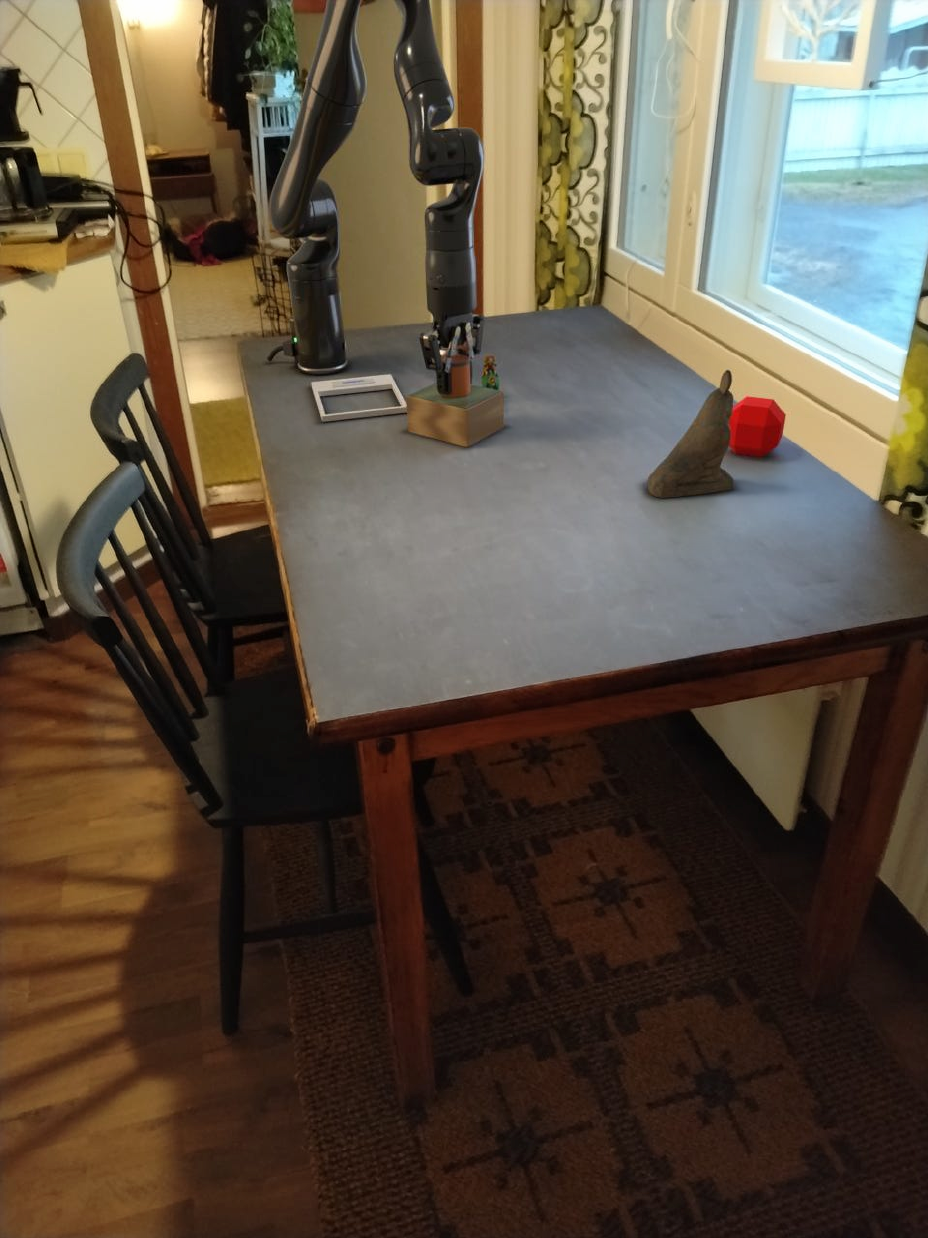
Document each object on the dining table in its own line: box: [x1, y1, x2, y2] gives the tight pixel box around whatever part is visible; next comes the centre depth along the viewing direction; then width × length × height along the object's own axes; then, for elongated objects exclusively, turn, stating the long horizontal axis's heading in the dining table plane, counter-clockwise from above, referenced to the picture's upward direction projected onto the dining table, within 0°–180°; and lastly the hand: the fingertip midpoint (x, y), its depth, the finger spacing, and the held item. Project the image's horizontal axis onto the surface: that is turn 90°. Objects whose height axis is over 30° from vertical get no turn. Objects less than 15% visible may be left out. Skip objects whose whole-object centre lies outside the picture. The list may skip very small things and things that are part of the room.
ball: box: [729, 395, 787, 458], centre depth 143 cm, size 8×8×8 cm
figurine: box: [480, 354, 500, 391], centre depth 164 cm, size 3×12×8 cm, turn 5°
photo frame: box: [311, 373, 407, 422], centre depth 168 cm, size 15×1×18 cm
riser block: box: [405, 381, 505, 448], centre depth 154 cm, size 12×10×6 cm
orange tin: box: [441, 353, 470, 397], centre depth 151 cm, size 5×5×5 cm
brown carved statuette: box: [646, 369, 735, 499], centre depth 131 cm, size 12×6×18 cm, turn 97°
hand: (455, 388), depth 152 cm, fingers closed on orange tin, 4 cm apart
